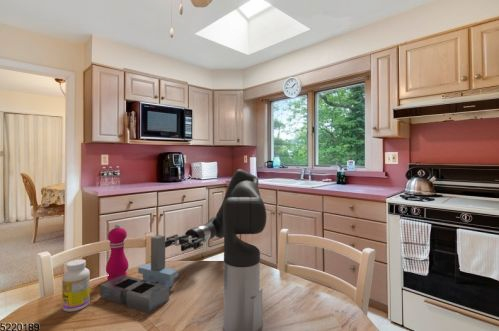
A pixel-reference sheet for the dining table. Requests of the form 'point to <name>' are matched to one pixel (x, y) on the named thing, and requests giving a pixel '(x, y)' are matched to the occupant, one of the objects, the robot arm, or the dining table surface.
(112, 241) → the pepper mill
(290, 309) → the dining table surface
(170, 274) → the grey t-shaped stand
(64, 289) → the supplement bottle
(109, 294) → the dark grey rectangular block
